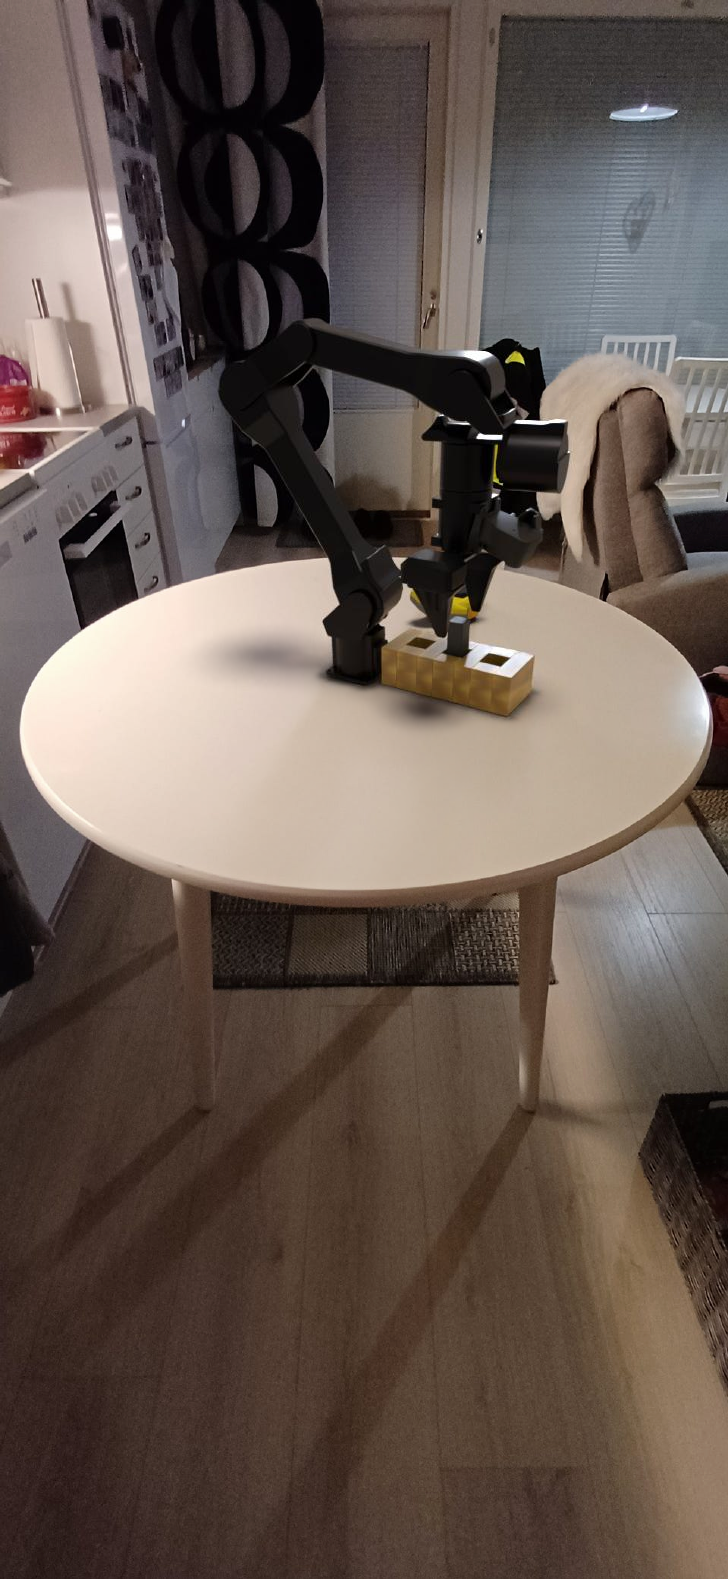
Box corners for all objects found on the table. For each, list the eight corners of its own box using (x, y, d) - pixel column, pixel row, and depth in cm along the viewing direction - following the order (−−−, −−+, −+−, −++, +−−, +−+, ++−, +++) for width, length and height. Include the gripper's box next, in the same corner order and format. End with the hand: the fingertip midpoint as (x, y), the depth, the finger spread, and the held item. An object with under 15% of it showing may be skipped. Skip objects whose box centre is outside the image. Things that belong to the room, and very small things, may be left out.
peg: (444, 689, 97) (447, 621, 92) (452, 683, 98) (455, 615, 93) (459, 693, 96) (463, 624, 91) (466, 687, 97) (470, 618, 92)
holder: (381, 683, 98) (381, 647, 95) (409, 663, 103) (409, 627, 100) (507, 716, 91) (510, 677, 88) (530, 692, 96) (535, 655, 93)
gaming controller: (407, 627, 113) (476, 631, 112) (408, 591, 110) (478, 594, 109) (419, 592, 126) (481, 594, 124) (420, 558, 123) (484, 560, 121)
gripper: (499, 516, 73) (488, 667, 82) (568, 476, 86) (552, 610, 95) (397, 502, 78) (397, 646, 87) (477, 467, 91) (469, 595, 100)
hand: (459, 623), depth 92 cm, fingers open, 9 cm apart
